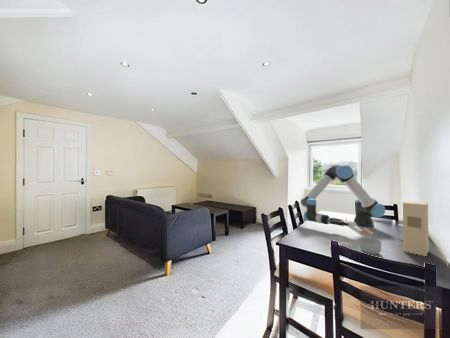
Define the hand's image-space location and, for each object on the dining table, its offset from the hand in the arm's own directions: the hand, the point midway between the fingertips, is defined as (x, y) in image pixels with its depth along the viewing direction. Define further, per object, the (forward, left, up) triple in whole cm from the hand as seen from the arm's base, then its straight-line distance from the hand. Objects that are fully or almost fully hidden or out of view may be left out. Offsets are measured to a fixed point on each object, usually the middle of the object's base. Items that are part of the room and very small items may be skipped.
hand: (354, 224), depth 146 cm
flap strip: (0, 0, -4) cm, 4 cm away
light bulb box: (-20, +27, -10) cm, 35 cm away
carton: (0, +33, -9) cm, 34 cm away
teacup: (+22, +15, -10) cm, 28 cm away
